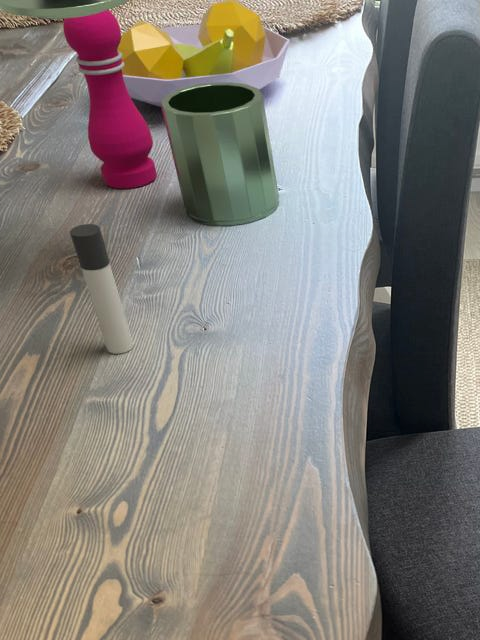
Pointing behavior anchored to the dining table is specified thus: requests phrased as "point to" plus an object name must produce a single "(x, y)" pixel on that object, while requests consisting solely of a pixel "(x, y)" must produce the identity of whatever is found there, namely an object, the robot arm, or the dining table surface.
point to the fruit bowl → (201, 53)
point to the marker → (102, 287)
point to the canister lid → (58, 7)
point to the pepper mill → (110, 103)
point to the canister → (222, 152)
